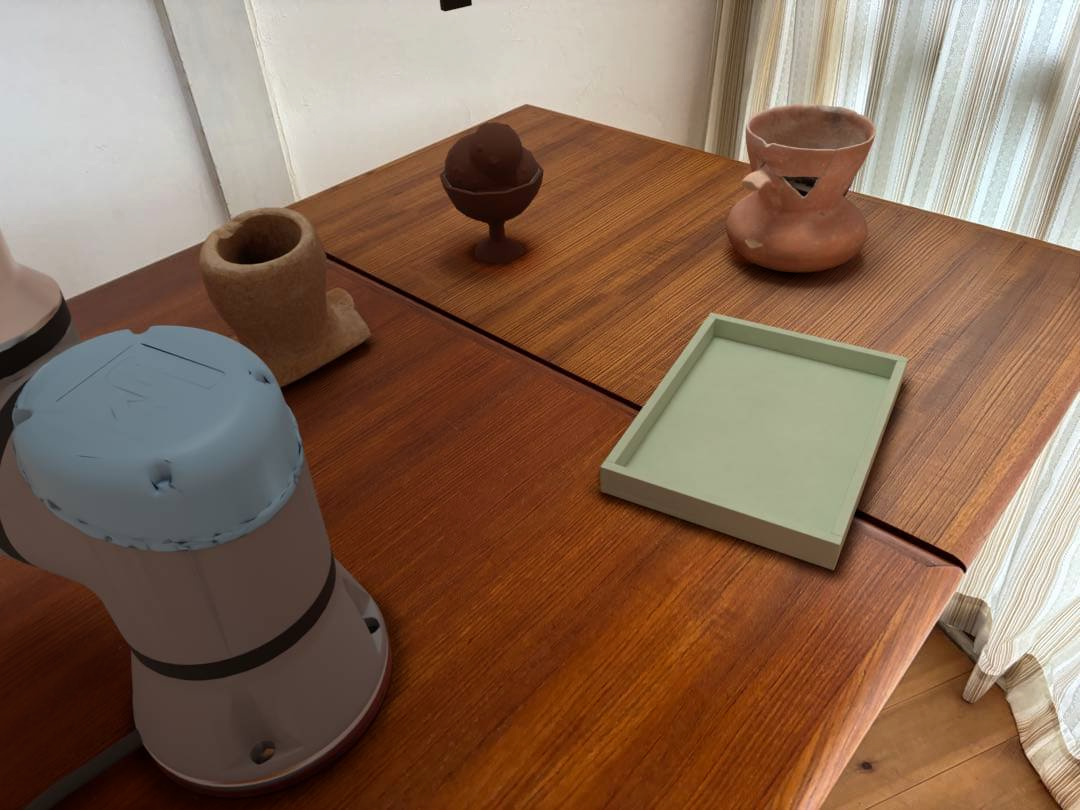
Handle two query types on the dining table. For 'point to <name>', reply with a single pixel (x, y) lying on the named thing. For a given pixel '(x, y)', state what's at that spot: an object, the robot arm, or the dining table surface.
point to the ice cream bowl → (492, 185)
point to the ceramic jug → (801, 188)
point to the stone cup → (279, 292)
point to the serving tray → (760, 436)
